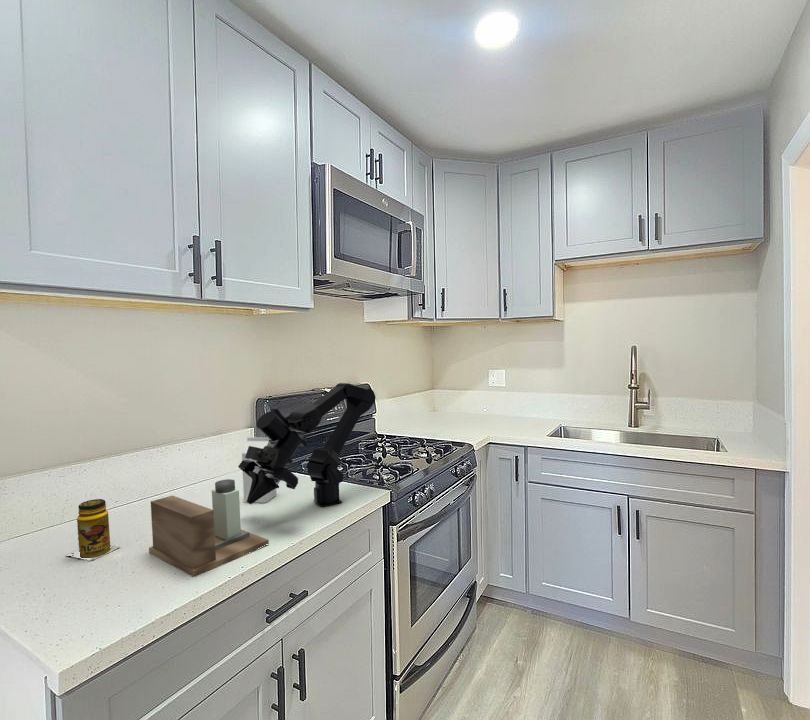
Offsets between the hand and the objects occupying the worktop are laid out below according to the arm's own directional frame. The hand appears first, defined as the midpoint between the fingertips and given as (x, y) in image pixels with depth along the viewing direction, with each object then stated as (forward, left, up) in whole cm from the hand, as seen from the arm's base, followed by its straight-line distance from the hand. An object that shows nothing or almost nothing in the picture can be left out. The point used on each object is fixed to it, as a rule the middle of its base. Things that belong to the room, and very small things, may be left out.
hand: (248, 503), depth 118 cm
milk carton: (-9, -25, -8) cm, 27 cm away
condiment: (+33, -10, -8) cm, 36 cm away
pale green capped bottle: (+6, +2, -6) cm, 9 cm away
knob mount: (+10, +4, -7) cm, 13 cm away
